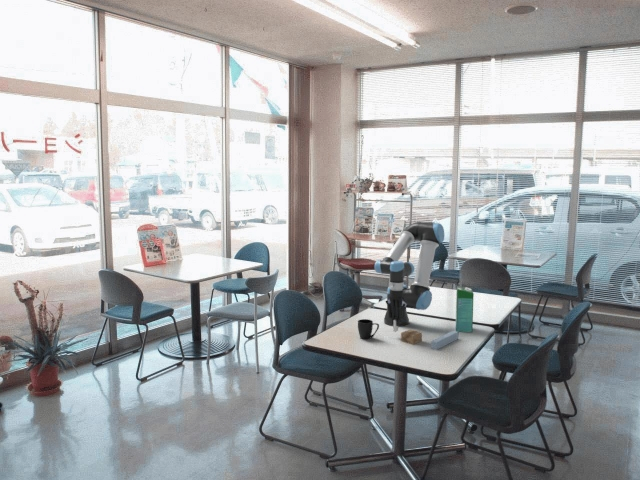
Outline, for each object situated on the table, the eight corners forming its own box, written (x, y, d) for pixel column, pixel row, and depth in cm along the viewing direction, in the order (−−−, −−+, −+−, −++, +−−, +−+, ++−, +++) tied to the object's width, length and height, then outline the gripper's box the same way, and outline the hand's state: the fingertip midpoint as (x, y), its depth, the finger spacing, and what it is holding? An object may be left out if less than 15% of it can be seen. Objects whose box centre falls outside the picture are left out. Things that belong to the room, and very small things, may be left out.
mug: (375, 341, 294) (375, 324, 293) (355, 338, 299) (355, 322, 298) (381, 337, 301) (381, 321, 300) (361, 334, 307) (361, 318, 305)
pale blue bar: (431, 348, 282) (431, 341, 282) (453, 337, 300) (453, 330, 300) (436, 349, 280) (436, 342, 280) (458, 338, 298) (458, 331, 298)
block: (401, 341, 295) (401, 332, 294) (409, 338, 300) (410, 329, 300) (413, 344, 289) (413, 335, 288) (421, 341, 295) (422, 332, 294)
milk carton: (472, 332, 310) (473, 289, 307) (456, 331, 312) (457, 288, 308) (471, 327, 319) (472, 286, 315) (455, 326, 320) (456, 285, 317)
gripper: (382, 288, 299) (382, 330, 302) (402, 292, 291) (402, 334, 293) (390, 286, 305) (389, 327, 307) (410, 290, 296) (409, 331, 299)
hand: (395, 331), depth 300 cm, fingers closed
